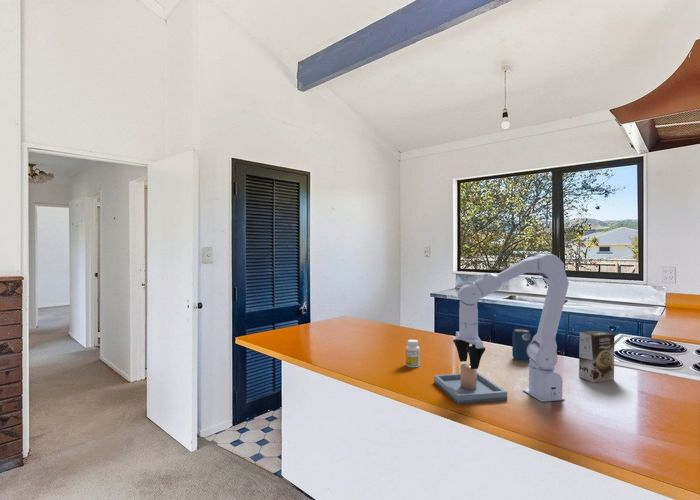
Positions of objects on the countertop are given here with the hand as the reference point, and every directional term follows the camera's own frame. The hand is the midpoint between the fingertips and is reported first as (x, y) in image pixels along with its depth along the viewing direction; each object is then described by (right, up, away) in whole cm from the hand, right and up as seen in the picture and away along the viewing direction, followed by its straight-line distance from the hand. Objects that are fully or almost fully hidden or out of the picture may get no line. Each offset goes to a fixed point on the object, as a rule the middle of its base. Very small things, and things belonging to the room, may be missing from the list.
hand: (468, 364), depth 124 cm
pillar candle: (0, -7, 0) cm, 7 cm away
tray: (0, -8, 0) cm, 8 cm away
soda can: (+32, -8, +33) cm, 47 cm away
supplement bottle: (-14, -8, +26) cm, 31 cm away
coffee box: (+48, -8, +11) cm, 50 cm away
